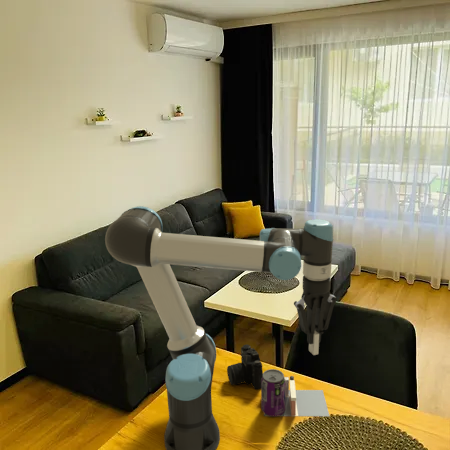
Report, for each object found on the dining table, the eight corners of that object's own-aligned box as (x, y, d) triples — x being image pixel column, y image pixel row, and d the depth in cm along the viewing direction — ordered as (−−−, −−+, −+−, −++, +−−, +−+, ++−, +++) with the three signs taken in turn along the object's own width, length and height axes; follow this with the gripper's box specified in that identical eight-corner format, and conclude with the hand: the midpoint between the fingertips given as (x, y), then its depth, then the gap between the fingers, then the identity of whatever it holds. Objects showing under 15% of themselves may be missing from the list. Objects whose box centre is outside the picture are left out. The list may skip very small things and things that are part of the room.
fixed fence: (264, 396, 136) (264, 378, 134) (264, 393, 138) (264, 375, 136) (293, 396, 136) (294, 378, 134) (293, 393, 137) (293, 375, 135)
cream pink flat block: (289, 396, 135) (289, 380, 134) (294, 397, 135) (294, 380, 133) (290, 415, 127) (290, 397, 126) (296, 415, 127) (296, 397, 125)
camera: (223, 370, 151) (222, 345, 148) (252, 365, 153) (251, 339, 151) (234, 395, 138) (233, 367, 135) (266, 389, 140) (265, 361, 138)
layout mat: (264, 416, 128) (264, 415, 128) (262, 390, 139) (262, 389, 139) (329, 417, 127) (329, 416, 127) (322, 390, 138) (322, 390, 138)
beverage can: (284, 419, 126) (284, 383, 123) (260, 417, 127) (259, 381, 124) (286, 403, 132) (286, 369, 129) (263, 401, 134) (262, 367, 131)
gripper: (303, 284, 113) (300, 364, 120) (345, 277, 118) (340, 354, 124) (289, 275, 120) (287, 350, 126) (328, 268, 125) (325, 341, 131)
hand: (313, 352), depth 125 cm, fingers closed
